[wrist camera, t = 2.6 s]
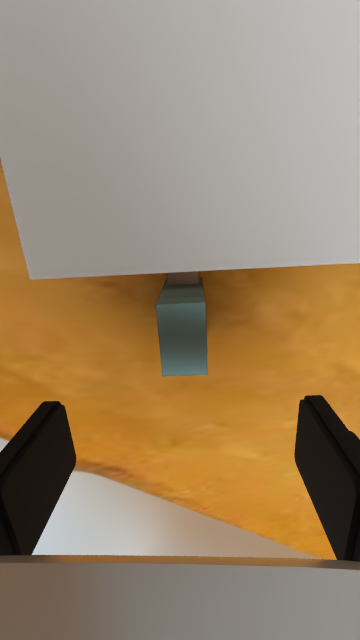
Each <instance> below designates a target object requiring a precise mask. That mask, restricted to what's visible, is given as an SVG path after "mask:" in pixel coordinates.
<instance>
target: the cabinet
mask: <svg viewBox="0 0 360 640" xmlns="http://www.w3.org/2000/svg"><path fill="white" fill-rule="evenodd" d="M0 160H1V164H2V168H3V172H4V176H5V180H6V184H7V189H8V193H9V197H10V201H11V205H12V209H13V213H14V217H15V221H16V225H17V229H18V233H19V237H20V241H21V245H22V249H23V253H24V257H25V261H26V265H27V269H28V274H29V278H30V280H34V279H54V278H74V277H94V276H113V275H133V274H153V273H172V272H192V271H212V270H231V269H251V268H271V267H290V266H310V265H330V264H350V263H360V0H0Z"/></svg>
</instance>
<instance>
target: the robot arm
mask: <svg viewBox="0 0 360 640" xmlns="http://www.w3.org/2000/svg"><path fill="white" fill-rule="evenodd" d="M295 462H296V465H297V468H298V470H299V472H300V474H301V477H302V479H303V481H304V484H305V486H306V488H307V491H308V493H309V495H310V498H311V500H312V502H313V505H314V507H315V509H316V512H317V514H318V516H319V519H320V521H321V523H322V526H323V528H324V530H325V533H326V535H327V537H328V540H329V542H330V544H331V547H332V549H333V551H334V554H335V556H336V558H337V560H324V559H298V558H297V559H296V558H253V557H198V556H196V557H195V556H115V555H32V553H33V550H34V549H35V546H36V545H37V542H38V540H39V538H40V536H41V534H42V532H43V530H44V528H45V526H46V524H47V522H48V520H49V518H50V516H51V514H52V512H53V510H54V508H55V506H56V504H57V502H58V500H59V497H60V495H61V493H62V491H63V489H64V487H65V485H66V483H67V481H68V479H69V477H70V474H71V473H72V471H73V469H74V467H75V464H76V454H75V449H74V445H73V441H72V436H71V432H70V427H69V423H68V419H67V414H66V410H65V406H64V405H61V403H60V402H59V401H45V402H43V403H42V404H41V405H40V406H39V407H38V408H37V410H36V411H35V412H34V413H33V414H32V416H31V417H30V418H29V419H28V420H27V421H26V423H25V424H24V425H23V426H22V427H21V429H20V430H19V431H18V432H17V433H16V434H15V436H14V437H13V438H12V439H11V440H10V442H9V443H8V444H7V445H6V446H5V448H4V449H3V450H2V451H1V452H0V640H360V440H359V438H358V437H357V436H356V435H355V434H354V433H353V432H351V431H349V430H348V429H347V428H346V426H345V425H344V424H343V422H342V421H341V420H340V418H339V417H338V416H337V414H336V413H335V412H334V410H333V409H332V408H331V407H330V405H329V404H328V403H327V401H326V400H325V399H324V397H323V396H321V395H312V396H305V398H304V400H300V403H299V413H298V424H297V434H296V444H295Z"/></svg>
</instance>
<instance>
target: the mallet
mask: <svg viewBox="0 0 360 640" xmlns="http://www.w3.org/2000/svg"><path fill="white" fill-rule="evenodd" d="M156 311H157V322H158V333H159V344H160V355H161V366H162V376H192V375H208V369H207V332H206V301H205V295H204V289H203V283H202V278H198V271H192V272H172V273H167V280H166V281H165V284H164V286H163V288H162V291H161V293H160V296H159V298H158V301H157V303H156Z"/></svg>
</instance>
